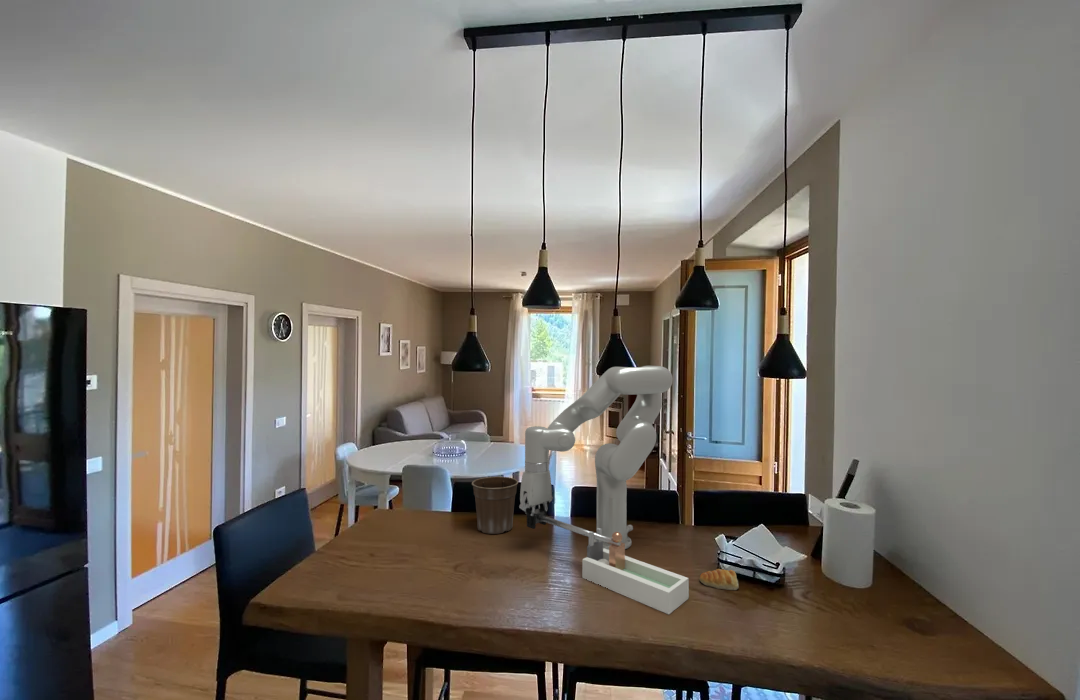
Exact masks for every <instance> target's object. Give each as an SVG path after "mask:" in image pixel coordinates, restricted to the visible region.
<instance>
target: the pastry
mask: <svg viewBox="0 0 1080 700" xmlns="http://www.w3.org/2000/svg"><path fill="white" fill-rule="evenodd" d="M699 582H701V583H702V584H703V585H705V586H707V587H712V588H714V589H717V590H718V589H719V590H721V589H722V590H727V591H737V590H738V589H739V588H740V587H739V579H738V578H737V573H736V571H735V570H734V569H733V570H732V569H730V570H728V569H721V568H716V569H714V570H708V571H704V572H702V573H701V574H700V576H699Z"/></svg>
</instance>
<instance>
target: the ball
mask: <svg viewBox="0 0 1080 700" xmlns="http://www.w3.org/2000/svg"><path fill="white" fill-rule="evenodd" d="M598 561H599V562H602V563H604V564H607V565H609V561H608V560H606V559H600V560H598Z"/></svg>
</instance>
